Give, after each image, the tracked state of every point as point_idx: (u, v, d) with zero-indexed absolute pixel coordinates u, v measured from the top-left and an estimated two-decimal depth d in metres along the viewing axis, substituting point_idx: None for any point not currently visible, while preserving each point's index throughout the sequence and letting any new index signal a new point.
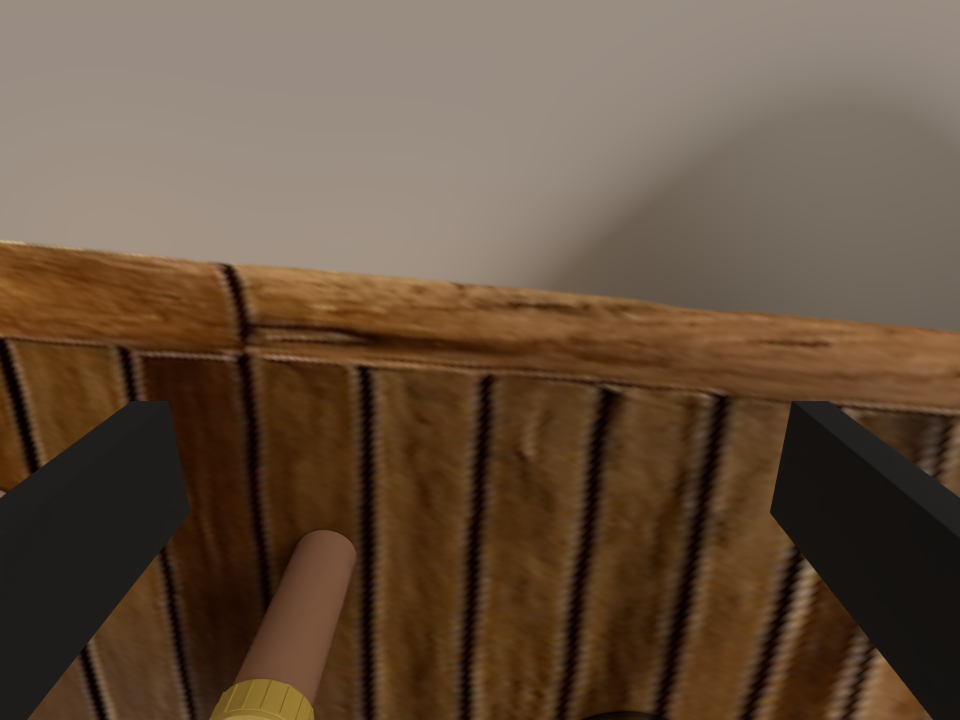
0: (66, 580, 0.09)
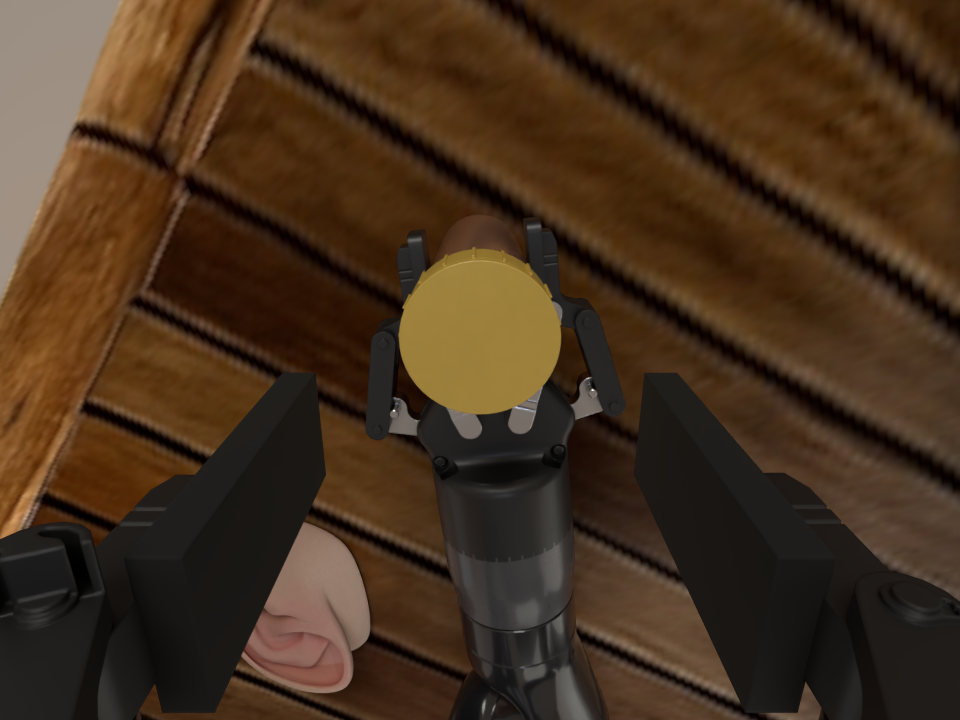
0: (269, 519, 0.11)
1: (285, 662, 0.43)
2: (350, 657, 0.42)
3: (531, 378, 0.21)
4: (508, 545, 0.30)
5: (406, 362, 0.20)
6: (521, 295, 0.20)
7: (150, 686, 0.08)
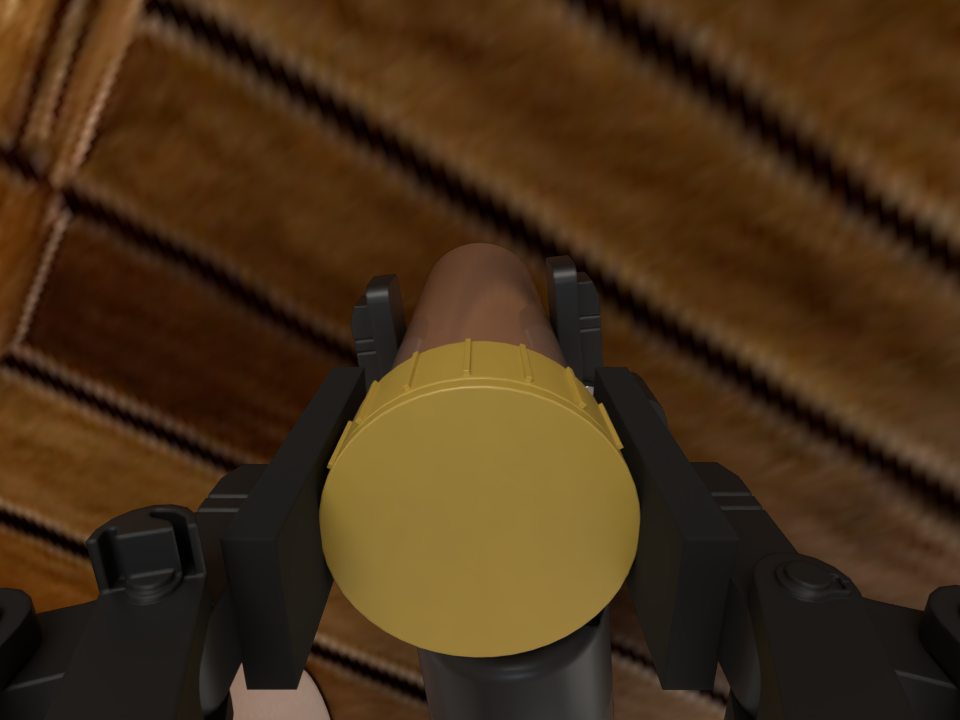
0: None
1: None
2: None
3: (579, 598, 0.11)
4: None
5: (335, 571, 0.10)
6: (565, 452, 0.10)
7: (239, 664, 0.08)
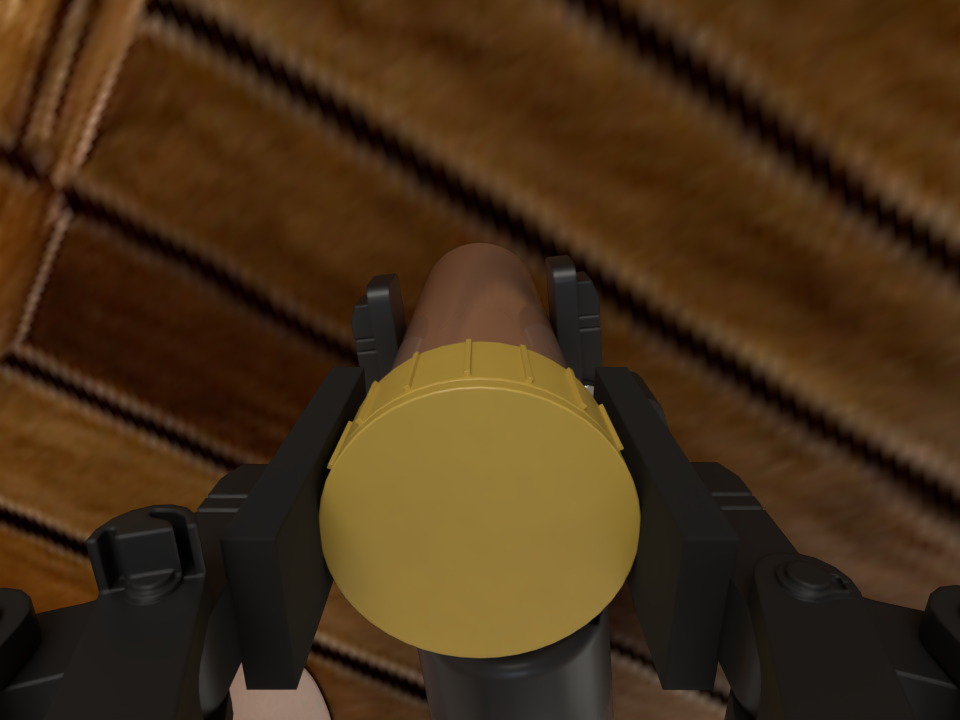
0: None
1: None
2: None
3: (574, 450, 0.10)
4: None
5: (507, 652, 0.11)
6: (389, 456, 0.10)
7: (239, 663, 0.08)
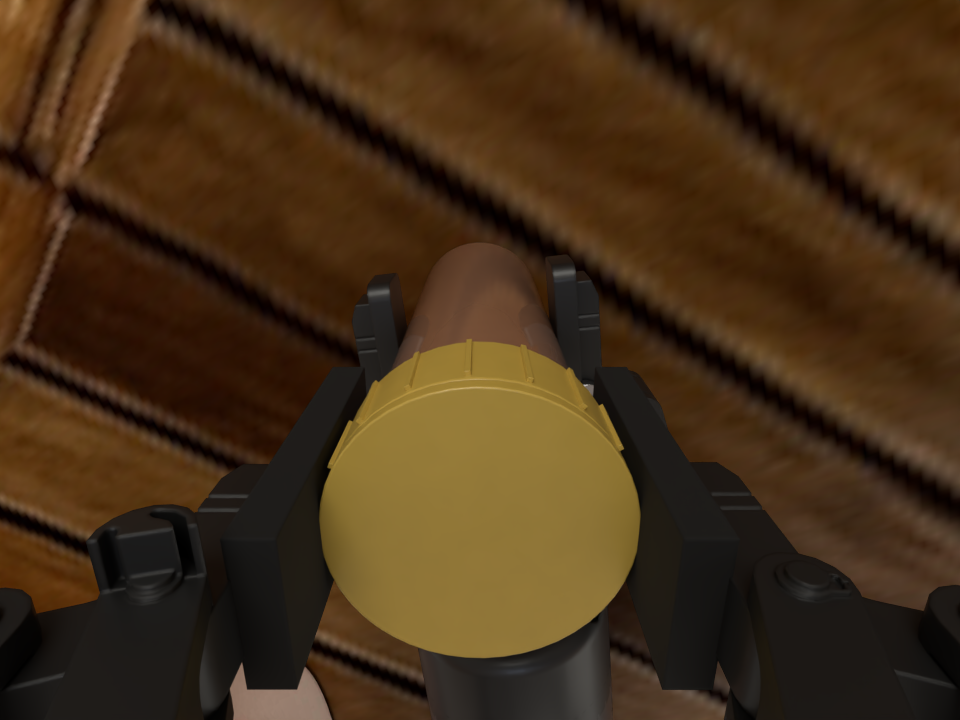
0: None
1: None
2: None
3: (386, 448, 0.10)
4: None
5: (635, 522, 0.10)
6: (386, 597, 0.11)
7: (239, 663, 0.08)
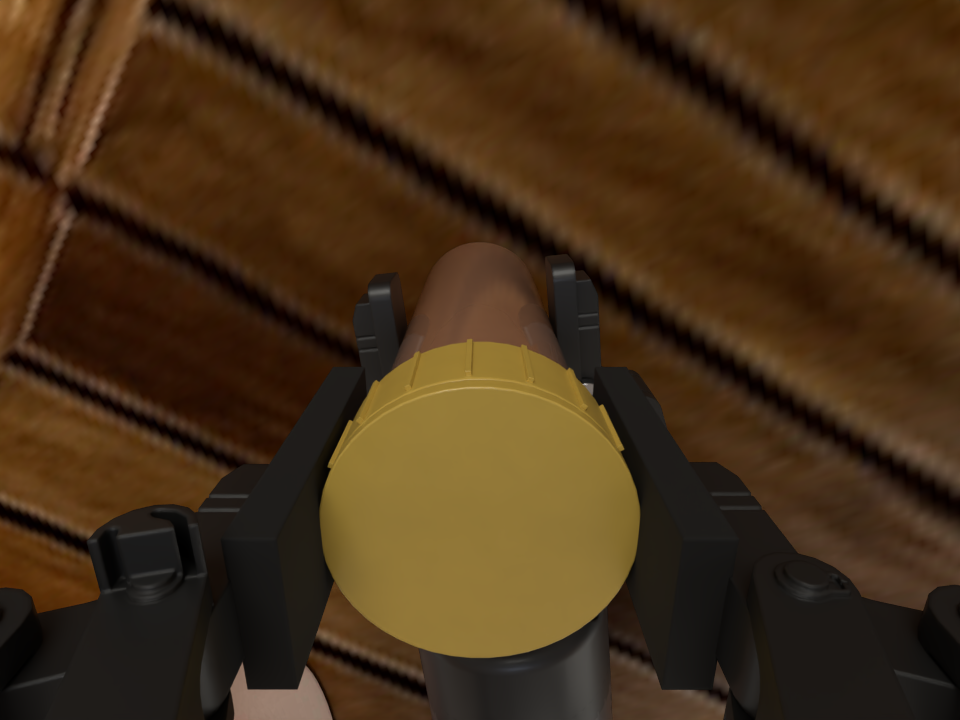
0: None
1: None
2: None
3: (378, 598, 0.11)
4: None
5: (478, 393, 0.09)
6: (542, 618, 0.11)
7: (239, 663, 0.08)
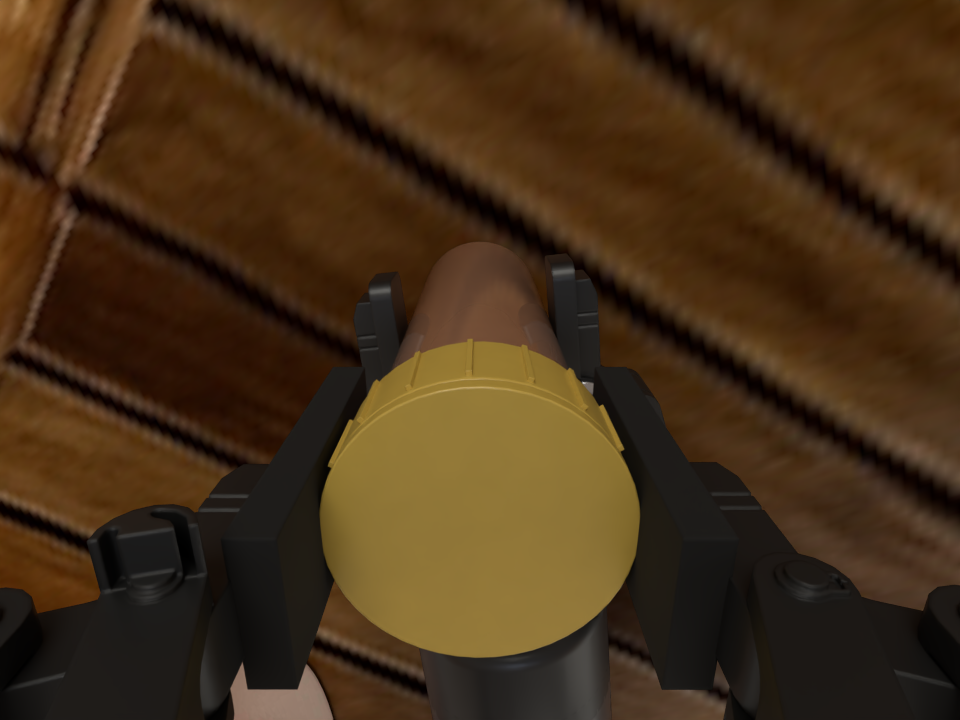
0: None
1: None
2: None
3: (542, 624, 0.11)
4: None
5: (324, 523, 0.10)
6: (592, 486, 0.10)
7: (239, 663, 0.08)
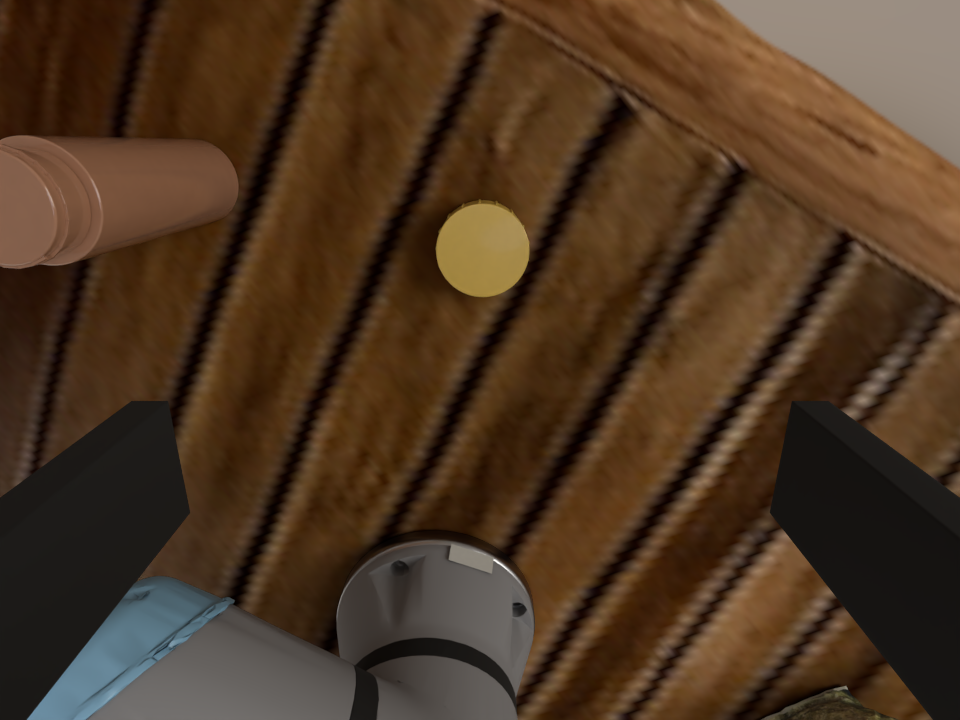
0: (67, 580, 0.09)
1: None
2: None
3: (501, 283, 0.36)
4: None
5: (437, 247, 0.35)
6: (514, 235, 0.35)
7: None
